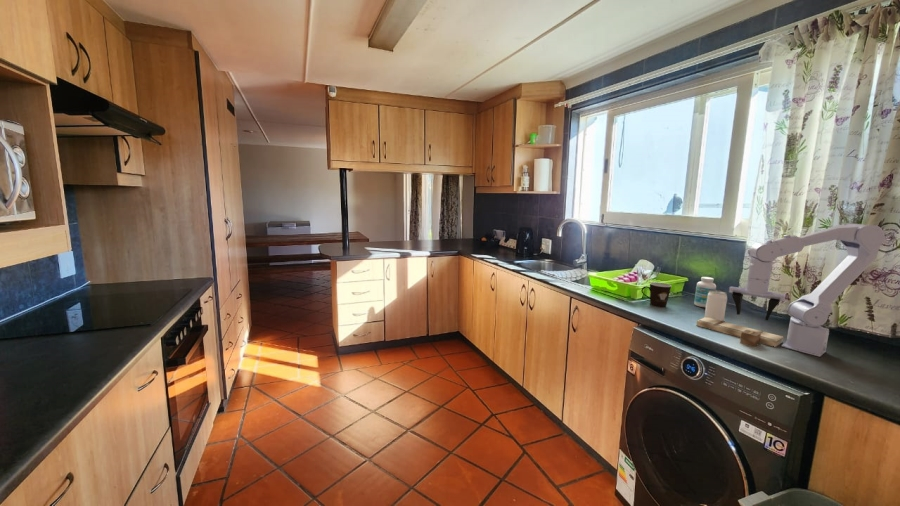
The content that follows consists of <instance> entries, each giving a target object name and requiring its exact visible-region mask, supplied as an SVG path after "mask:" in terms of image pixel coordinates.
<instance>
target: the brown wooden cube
mask: <svg viewBox="0 0 900 506" xmlns="http://www.w3.org/2000/svg"><path fill="white" fill-rule="evenodd" d="M760 337H761V333H759V332H755V331H751V330H745V331H743V332H742V333H741V337H740V341H739V344H742V345H745V346H746V345H747V346H750V347H753V348H755V347H757V346H759V344H761V343H760Z"/></svg>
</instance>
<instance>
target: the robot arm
mask: <svg viewBox="0 0 900 506" xmlns="http://www.w3.org/2000/svg"><path fill="white" fill-rule="evenodd" d="M836 240H837V241H839V242H840V243H841V244H842V245H843V247H844V248H845V249H846V252H847V256H846V257H845V258H844V259H843V260H842V261H841V262H840V263H838V265H837V266H836V267H835V268H834V269H833V270H832V271H831V272H830V273H829V274H828V275H827V276H826V277H825V278H824V279H823V280H822V281H821V283H819V285H817V287H815V288H814V289H813V290H812V291H811V292H810V293H808V294H804V295H801V296H800V297H799V298H798V299H796V300H794V301H792V302H790V303H789V304H788V306H787V309H786V310H787V313H788V315H789V316H790V319H789V325H788V330H787V337H786V341H785V342H784V343H783V344H781V347H782V348H785V349H789V350H793V351H796V352H800V353H804V354H808V355H811V356H815V357H819V358H820V357H822V356H823V354H825V353H826V351H827V348H828V347H827V345H828V339H829V335H830V329H829V328H826V327H823V325H824V324H826V322H827V321H828V318H829V316H830V314H831V313H832V312H833V307H832V303H833V302H834V301H835V300H836V299H837V298H838V297H839V296H840V295H841V294H842V293H843V292H844V291H845V290H847V288H848V287H849V286H850V285H851V284H852V283H853V282H854V281H856V279H857V278H858V277H859V276H860V275H861V274H862V273H863V272H864V271H866V269H867V268H868V267H870V265H871V264H873V262H874V261H875V260H876V259H877V256H878V254H879V251H880V247H881V245H882V244H883V243H884V242H886V240H887V238H886V235H885V232H884V230H883V229H882V228H881V227H880V226H878V225H875V224H862V223H859V224H858V223H855V222H854V223H853V222H846V223H843V224H837V225H834V226H831V227H829V228H825V229H822V230H819V231H815V232H812V233H808V234H806V235H805V234H804V235H802V236H797V235H794V234H792V235H791V234H784V235H783V237H780V238H776V239H773V240H772V239H768V240H767V239H766V242H765V243H764V242H757V243H753V244H752V245H751V246H750V247H749V249H748V250H747V254H748V256H749V257H750V261H749V265H748V273H747V279H746V287H736V286H729V289H728V293H730V294H732V295H731V297H732V298H733V301H734V304H735V309H736V315H740V314H741V313H742V312H741V310H742V302H743V297H744V295H745V296H750V297H757V298H763V299H769V300H768V304H767V312H766V316H765V320H764V321H767V322H768V321H769V319H770V316H771V314H772V313H773V311H774V310H775V308H776V307H777V306H778V305H779V304H780V302H785V300H786V294H781V293H777V292H772V291H769V285H770V281H771V274H772V267H773V261H775V260H776V259H777V258H781V257H784V256H788V255H792V254H796V253H801V252H802V251H803V249H804V248H805V247H809V246H812V245H818V244H822V243H825V242H826V243H827V242H832V241H836Z"/></svg>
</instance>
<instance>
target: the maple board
mask: <svg viewBox="0 0 900 506" xmlns="http://www.w3.org/2000/svg"><path fill="white" fill-rule="evenodd" d="M696 326H698V327H701V328H706V329H708V330H711V331H716V332H718V333H723V334H727V335H730V336H734V337H737V338H741V333H742V332H743V331H745V330H751V331H755V332H759V333H761V337H760V343H759V344H763V345H766V346H771V347H773V346H774V348H776V347H777V346H779V345H780V344H781V345H782V343H783V342H784V336H783V335H778V334H774V333H771V332H766V331H764V330H759V329H755V328H750V327H747V326H742V325H739V324H735V323H731V322H727V321H719V320H715V319H712V318H708V317H705V316H704V317H702V318H700V319H698V320H696Z"/></svg>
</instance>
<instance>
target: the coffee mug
mask: <svg viewBox="0 0 900 506" xmlns="http://www.w3.org/2000/svg"><path fill="white" fill-rule="evenodd" d="M644 289H648V290H649V296H648V295H646V294H645V292H644ZM671 289H672V285H671V284H668V283H664V282H656V281H652V282H649V286H647V285H646V286H643V287H641V290H640V291H641V293H642V295H644V296H645V297H646V298H648V299H649V302H650V303H649V305H650V306H652V307H655V308H662V309H663V308H666V307H667V304H668V300H669V296H670V293H671Z"/></svg>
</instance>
